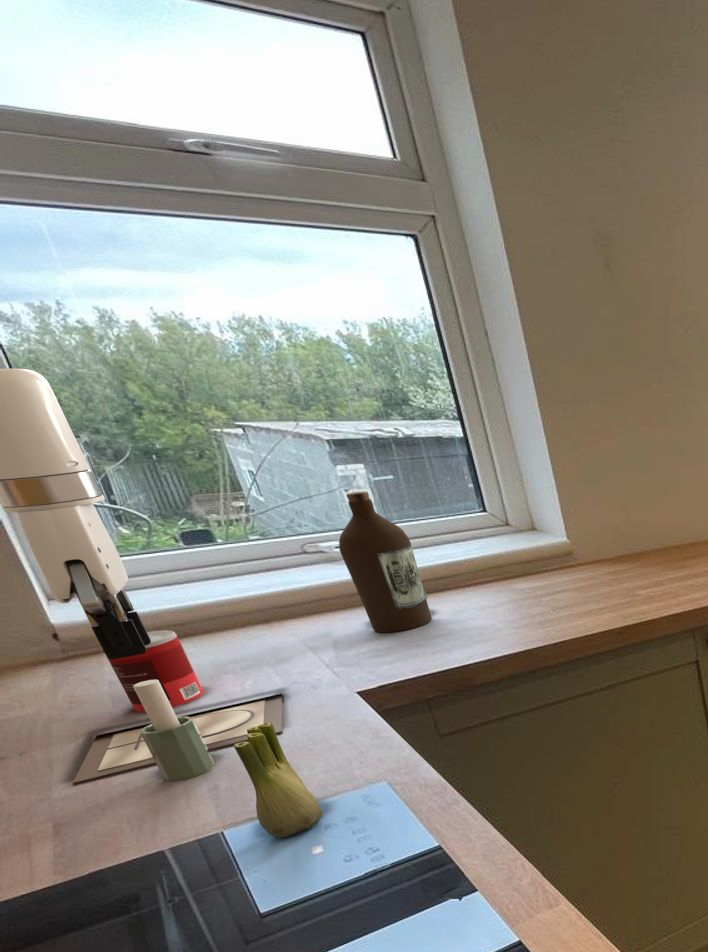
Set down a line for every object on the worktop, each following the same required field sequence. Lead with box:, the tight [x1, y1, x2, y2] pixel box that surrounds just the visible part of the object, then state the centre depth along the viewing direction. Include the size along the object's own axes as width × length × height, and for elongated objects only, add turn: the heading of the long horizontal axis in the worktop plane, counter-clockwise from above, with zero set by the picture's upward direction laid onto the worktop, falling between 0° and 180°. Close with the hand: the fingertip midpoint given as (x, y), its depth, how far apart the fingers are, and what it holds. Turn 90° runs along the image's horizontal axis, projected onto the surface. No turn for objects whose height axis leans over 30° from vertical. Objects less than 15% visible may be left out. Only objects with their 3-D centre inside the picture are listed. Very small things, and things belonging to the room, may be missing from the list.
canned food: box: [107, 629, 205, 713], centre depth 119 cm, size 8×8×11 cm
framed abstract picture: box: [72, 693, 285, 786], centre depth 111 cm, size 20×18×1 cm
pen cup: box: [140, 715, 216, 782], centre depth 99 cm, size 5×5×7 cm
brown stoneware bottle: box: [338, 490, 433, 633], centre depth 150 cm, size 11×11×25 cm
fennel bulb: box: [233, 723, 323, 838], centre depth 85 cm, size 6×5×12 cm
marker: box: [133, 680, 180, 731], centre depth 98 cm, size 2×2×12 cm
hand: (130, 649), depth 94 cm, fingers open, 3 cm apart
